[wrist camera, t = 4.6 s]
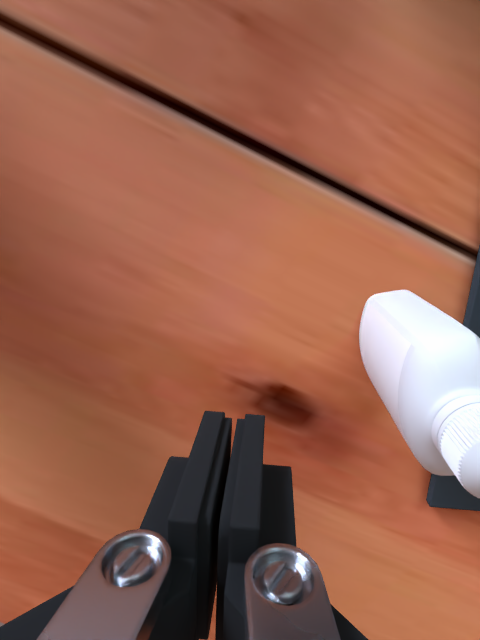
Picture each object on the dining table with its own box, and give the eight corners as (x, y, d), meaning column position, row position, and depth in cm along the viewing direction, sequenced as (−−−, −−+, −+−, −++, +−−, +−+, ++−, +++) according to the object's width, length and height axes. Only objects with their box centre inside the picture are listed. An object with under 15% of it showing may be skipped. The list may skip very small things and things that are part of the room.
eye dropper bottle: (332, 372, 22) (401, 560, 10) (374, 277, 20) (513, 375, 9) (406, 397, 22) (557, 611, 10) (454, 305, 20) (697, 438, 9)
